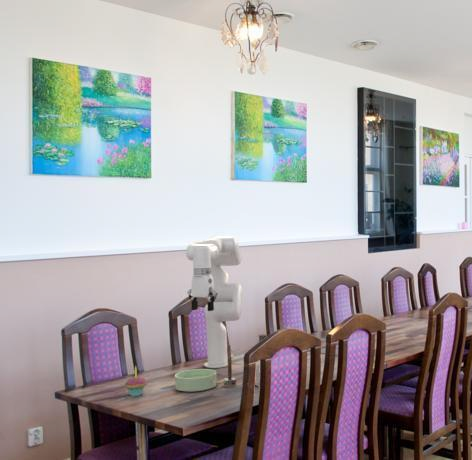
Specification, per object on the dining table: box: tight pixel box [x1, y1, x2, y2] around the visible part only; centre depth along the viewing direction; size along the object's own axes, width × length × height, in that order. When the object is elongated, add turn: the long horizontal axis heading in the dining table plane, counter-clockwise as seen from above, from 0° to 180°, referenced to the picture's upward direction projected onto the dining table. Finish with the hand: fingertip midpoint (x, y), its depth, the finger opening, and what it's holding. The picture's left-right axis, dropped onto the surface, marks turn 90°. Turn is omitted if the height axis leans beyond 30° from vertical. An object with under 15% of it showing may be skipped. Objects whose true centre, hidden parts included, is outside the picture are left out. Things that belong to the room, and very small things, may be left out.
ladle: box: [223, 344, 237, 388], centre depth 281 cm, size 5×5×18 cm
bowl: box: [174, 368, 218, 393], centre depth 279 cm, size 17×17×6 cm
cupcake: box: [124, 364, 148, 397], centre depth 269 cm, size 9×8×12 cm
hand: (202, 310), depth 289 cm, fingers open, 9 cm apart
